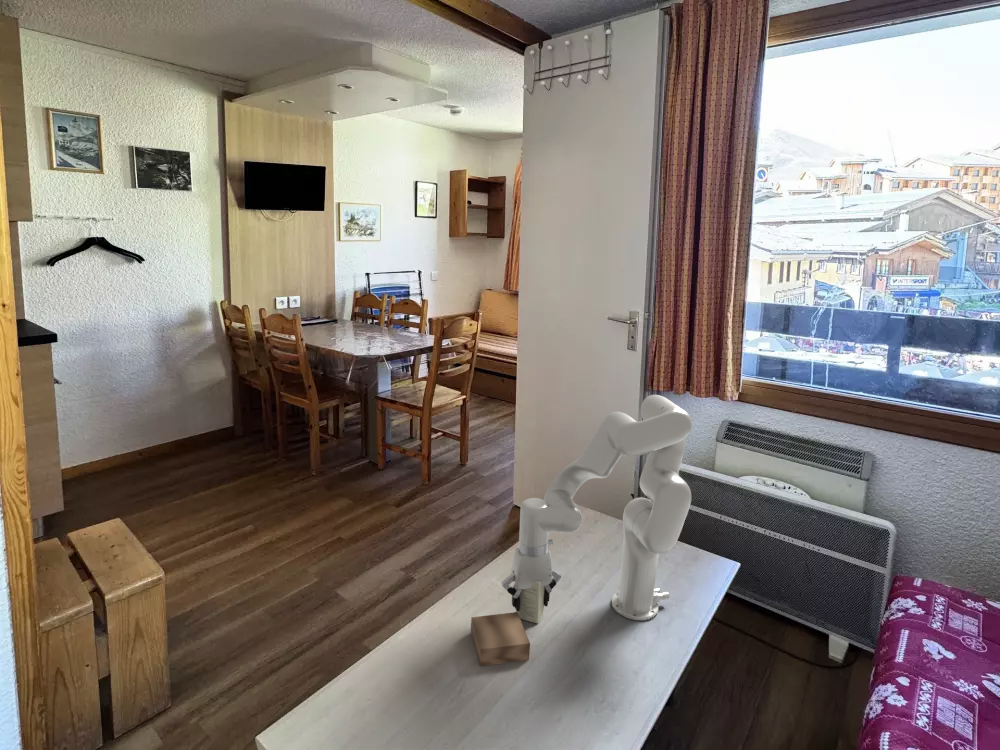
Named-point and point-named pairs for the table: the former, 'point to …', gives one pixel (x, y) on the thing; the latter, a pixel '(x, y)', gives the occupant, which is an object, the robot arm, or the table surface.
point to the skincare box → (532, 602)
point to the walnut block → (499, 639)
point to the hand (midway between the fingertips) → (530, 605)
